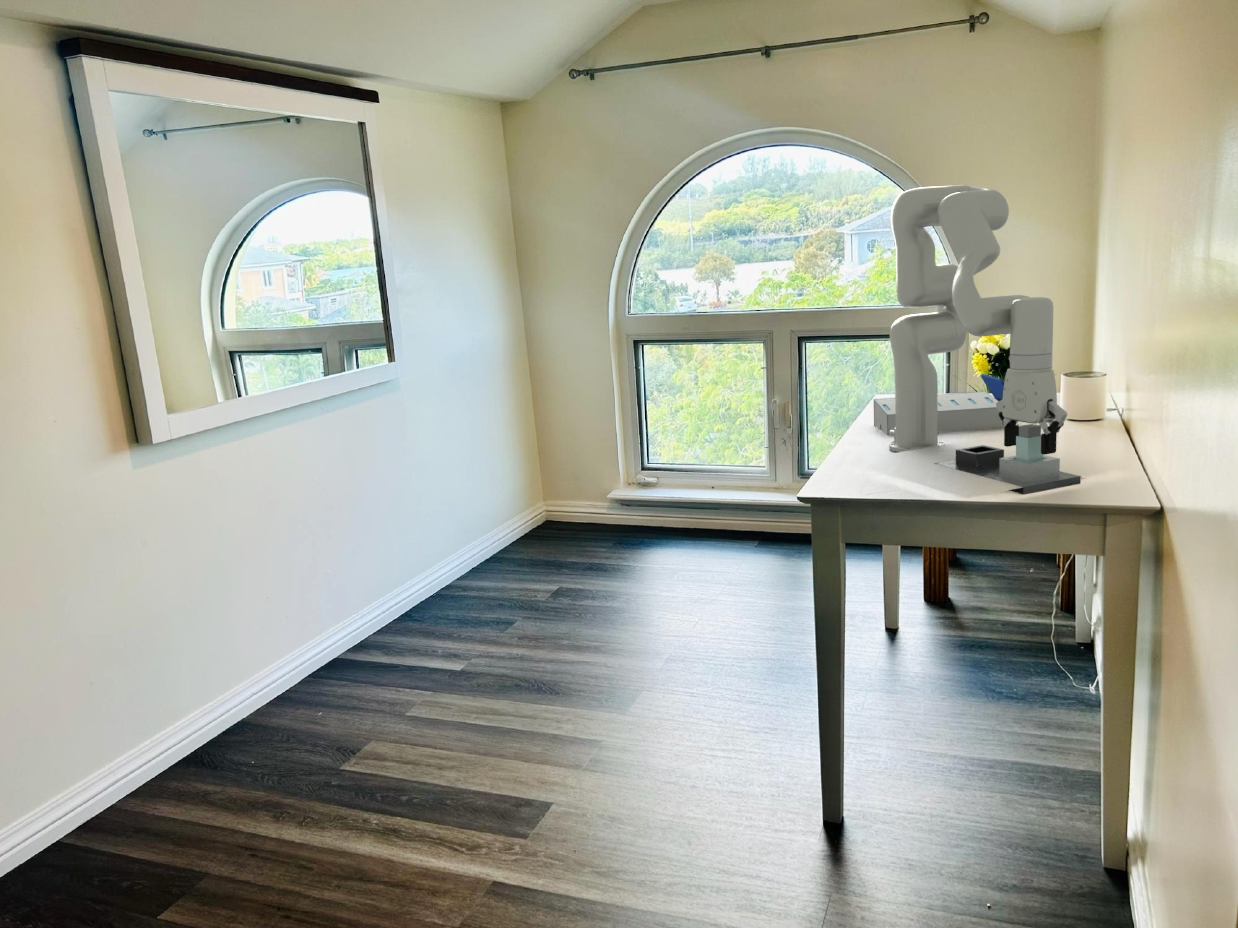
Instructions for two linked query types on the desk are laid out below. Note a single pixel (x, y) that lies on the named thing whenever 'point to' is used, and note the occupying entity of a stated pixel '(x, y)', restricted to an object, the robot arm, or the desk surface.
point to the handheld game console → (994, 386)
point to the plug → (1029, 443)
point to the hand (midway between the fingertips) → (1029, 449)
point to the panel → (1012, 469)
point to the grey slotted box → (948, 412)
